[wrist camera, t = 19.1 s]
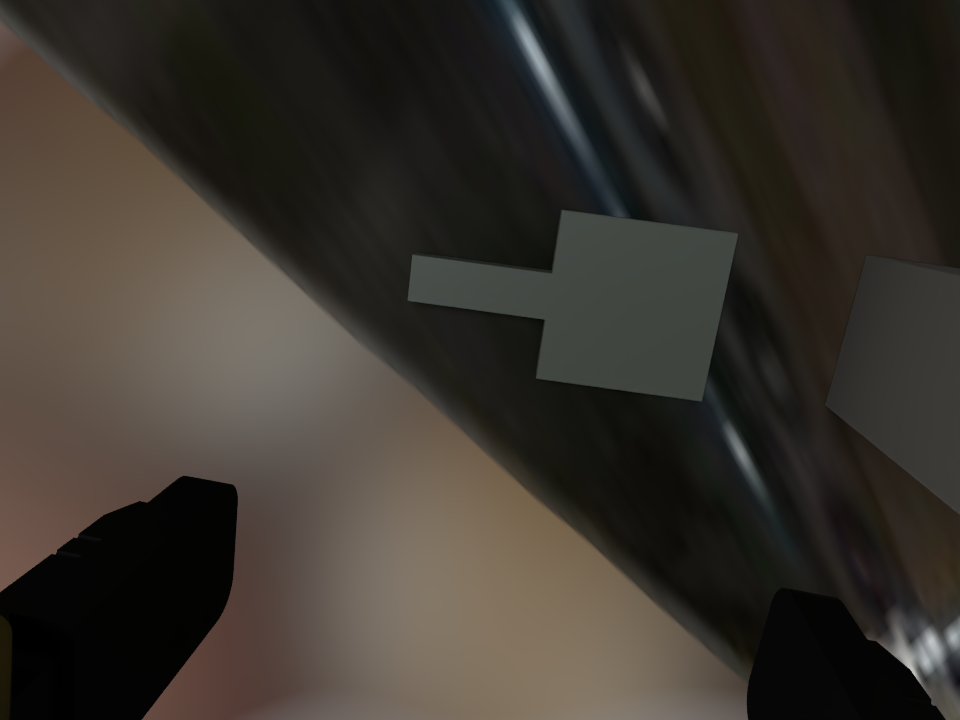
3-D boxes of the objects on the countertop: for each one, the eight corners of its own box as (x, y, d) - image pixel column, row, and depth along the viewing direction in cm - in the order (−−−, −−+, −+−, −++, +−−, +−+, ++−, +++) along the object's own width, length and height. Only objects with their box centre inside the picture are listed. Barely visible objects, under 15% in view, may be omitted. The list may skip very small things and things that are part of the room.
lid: (405, 354, 49) (401, 359, 47) (422, 190, 46) (419, 191, 45) (696, 394, 48) (701, 401, 47) (730, 231, 46) (738, 233, 44)
